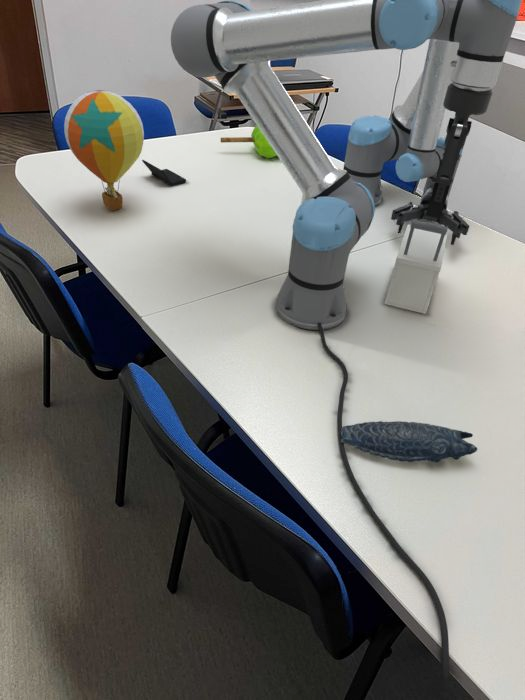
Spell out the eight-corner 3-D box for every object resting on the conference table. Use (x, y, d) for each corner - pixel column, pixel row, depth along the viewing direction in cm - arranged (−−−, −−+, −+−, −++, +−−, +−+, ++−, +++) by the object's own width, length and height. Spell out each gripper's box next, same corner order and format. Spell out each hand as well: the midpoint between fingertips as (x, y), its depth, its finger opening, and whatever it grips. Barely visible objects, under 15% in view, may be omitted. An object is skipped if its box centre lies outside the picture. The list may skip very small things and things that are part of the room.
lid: (439, 271, 107) (452, 233, 102) (395, 261, 110) (405, 223, 104) (446, 236, 121) (457, 201, 115) (406, 228, 123) (416, 192, 118)
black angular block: (190, 175, 164) (173, 153, 156) (179, 193, 163) (161, 172, 155) (166, 170, 170) (147, 148, 162) (155, 188, 169) (136, 167, 161)
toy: (64, 203, 145) (44, 85, 127) (127, 189, 156) (117, 79, 137) (97, 229, 134) (80, 105, 116) (162, 213, 145) (156, 96, 126)
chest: (425, 314, 115) (440, 270, 108) (384, 303, 117) (395, 260, 110) (432, 278, 128) (446, 236, 121) (395, 269, 130) (406, 228, 123)
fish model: (475, 475, 80) (486, 454, 77) (339, 458, 81) (344, 436, 78) (466, 443, 85) (476, 422, 82) (339, 427, 86) (344, 405, 83)
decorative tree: (217, 117, 188) (297, 117, 193) (217, 147, 194) (295, 146, 200) (224, 132, 174) (310, 131, 180) (224, 163, 181) (307, 162, 186)
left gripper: (453, 70, 99) (423, 179, 113) (443, 97, 81) (409, 223, 94) (494, 76, 98) (459, 186, 111) (493, 104, 79) (451, 232, 92)
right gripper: (473, 225, 149) (471, 258, 133) (387, 207, 154) (375, 237, 138) (482, 200, 144) (481, 231, 128) (393, 183, 149) (381, 210, 133)
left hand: (436, 203), depth 102 cm, fingers open, 13 cm apart
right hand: (426, 234), depth 133 cm, fingers open, 13 cm apart
